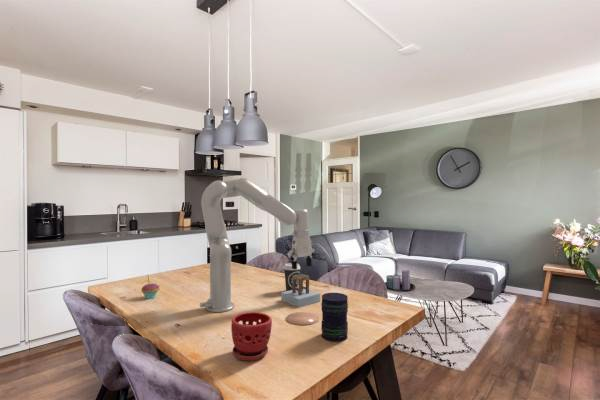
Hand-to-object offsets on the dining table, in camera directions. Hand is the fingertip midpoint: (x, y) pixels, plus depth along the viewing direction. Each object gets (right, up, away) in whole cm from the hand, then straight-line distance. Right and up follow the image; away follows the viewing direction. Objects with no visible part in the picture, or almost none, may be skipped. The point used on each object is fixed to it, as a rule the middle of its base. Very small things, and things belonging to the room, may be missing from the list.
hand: (301, 267), depth 160 cm
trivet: (0, -17, -24) cm, 30 cm away
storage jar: (+12, -17, -42) cm, 47 cm away
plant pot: (-17, -17, -56) cm, 60 cm away
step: (-1, -17, 0) cm, 17 cm away
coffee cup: (-5, -17, +17) cm, 24 cm away
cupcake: (-79, -17, +5) cm, 81 cm away
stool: (-1, -13, 0) cm, 13 cm away
